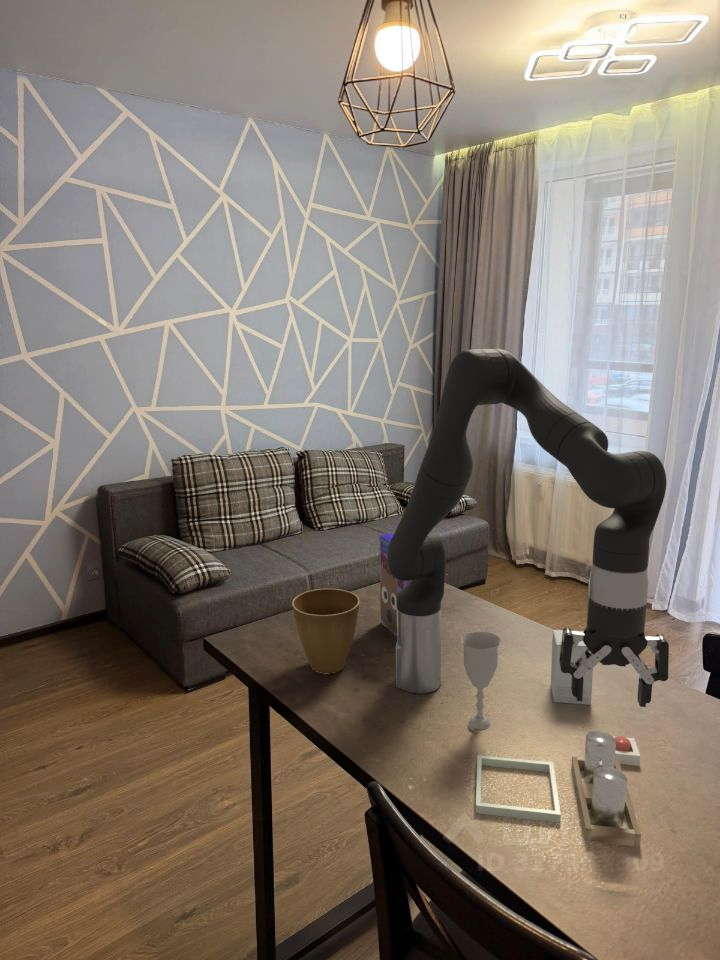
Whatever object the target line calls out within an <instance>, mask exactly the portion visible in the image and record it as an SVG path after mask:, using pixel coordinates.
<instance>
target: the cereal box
mask: <svg viewBox="0 0 720 960" xmlns="http://www.w3.org/2000/svg"><path fill="white" fill-rule="evenodd" d="M394 533H395V532H393V533H392V532H389V533H385V534H380V535H378V542H379V543H378V544H379V545H378V547H379V548H378V551H379V556H378V557H379V558H378V559H379V591H380V593H379V594H380V596H379V597H380V599H379V600H380V604H379V605H380V623H381V622H382V623H383V624H384V625H385V626H386V627H387V628H388V629H389V630H391V631H390V632H391V633H392V632H393V633H394V634H395V635H396V636H395V635H394V634H393V633H392V634H393V635H394V636H395V637H397V602H396V601H397V595H398V593H399V592H400V591H401V590H402V589H404V588H405V587H406V586H408V585H409V584H410V583H411V582H412V580H409V581H401V580H398V579H396V578H394V577H393V576H392V574H391V573H390V571H389V568H388V564H387V552H388V547H389V544H390V541H391V539H392V537H393V535H394ZM385 626H384V627H385ZM386 627H385V628H386ZM387 628H386V629H387ZM388 629H387V630H388ZM389 630H388V631H389Z"/></svg>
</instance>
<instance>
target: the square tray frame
mask: <svg viewBox="0 0 720 960" xmlns="http://www.w3.org/2000/svg"><path fill="white" fill-rule="evenodd" d="M476 762H477V763H476V789H475V790H476V791H475V793H476V794H475V795H476V796H475V814H481V815H487V816H488V815H491V816H500V817H507V818H516V819H525V820H527V819H528V820H533V821H544V822H552V823H553V822H554V823H561V821H562V819H561V818H562V817H561V815H562V814H561V808H560V801H559V799H560V798H559V794H558V793H559V792H558V785H557V780H556V773H555V766H554V765H555V764H554V762H553V761H542V760H532V759H531V760H530V759H522V758H511V757H502V756H501V757H500V756H490V755H479V754H477V761H476ZM482 766H487V767H496V768H504V769H505V768H506V769H515V770H516V769H517V770H527V771H537V772H545V773H546V772H547V773H548V774H549V783H550V791H551V799H552V804H553V809H552V810H550V809H541V808H534V807H533V808H531V807H525V806H524V807H523V806H513V805H504V804H496V803H488V802H487V803H486V802H482V801H481V800H482V797H481V796H482Z"/></svg>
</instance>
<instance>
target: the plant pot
mask: <svg viewBox="0 0 720 960" xmlns="http://www.w3.org/2000/svg"><path fill="white" fill-rule="evenodd" d="M360 602H361V601H360V597H359V596H358V595H356V594H355V593H353V592H351V591H348V590H344V589H339V588H319V589H318V588H317V589H312V590H307V591H304V592H301V593H300V594H298V595H297V596H295V597H294V598H293V600H292V602H291V605H292V611H293V616H294V620H295V625H296V629H297V632H298V633H297V634H298V636H299V638H300V642H301V646H302V648H303V651H304V654H305V656H306V659H307V661H308V662H309V666H310V667H312V668H313V669H314V670H315V671H318V672H322V673H333V672H337V673H339V672H340V670H341V671H342V670H343V669H344V668H345V664H346V662H347V659H348V657H349V654H350V651H351V647H352V645H353V641H354V638H355V632H356V628H357V622H358V615H359V609H360ZM312 668H311V669H312ZM313 669H312V670H313ZM315 671H314V672H315ZM338 671H339V672H338Z"/></svg>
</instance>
